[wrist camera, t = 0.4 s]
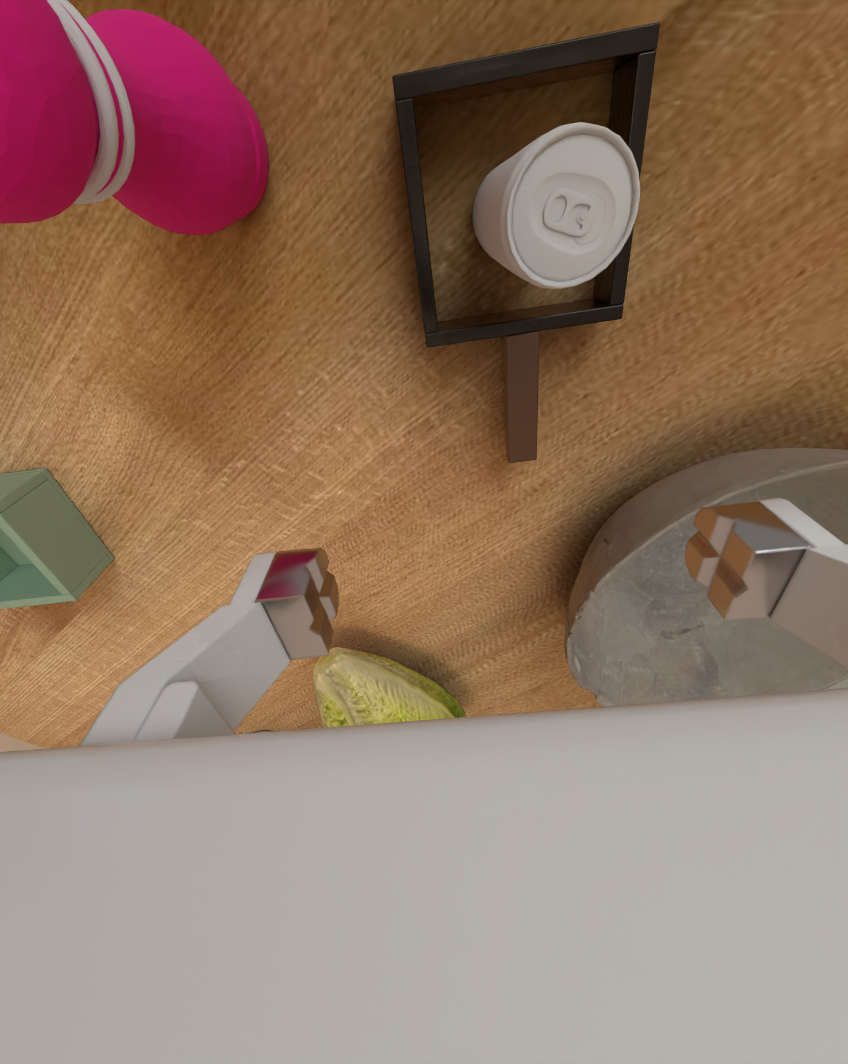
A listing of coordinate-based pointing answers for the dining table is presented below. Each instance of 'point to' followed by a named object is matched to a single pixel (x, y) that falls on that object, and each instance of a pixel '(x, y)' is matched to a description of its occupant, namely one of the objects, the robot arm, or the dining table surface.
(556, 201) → the beverage can
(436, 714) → the lettuce
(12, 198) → the pepper mill
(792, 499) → the bowl
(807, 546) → the robot arm
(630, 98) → the handled rectangular frame
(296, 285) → the dining table surface
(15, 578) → the bin
